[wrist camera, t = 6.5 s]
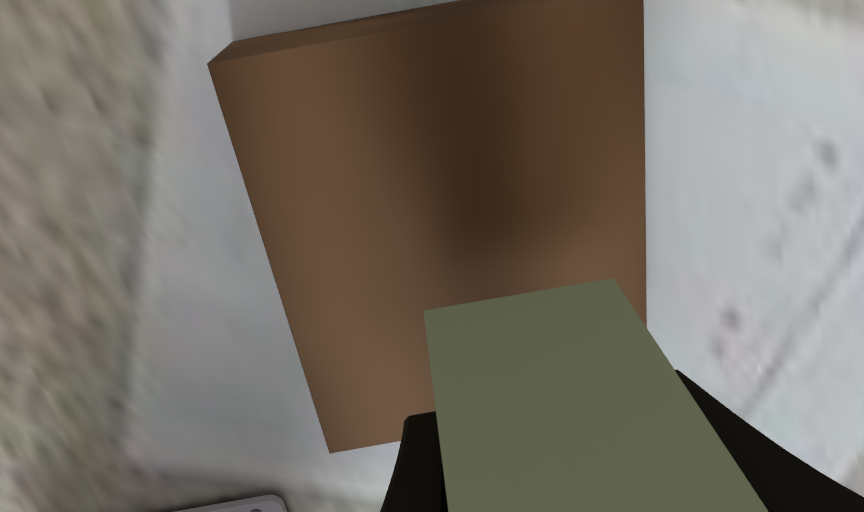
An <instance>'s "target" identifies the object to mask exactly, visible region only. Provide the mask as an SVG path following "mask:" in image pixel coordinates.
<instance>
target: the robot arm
mask: <svg viewBox="0 0 864 512" xmlns="http://www.w3.org/2000/svg"><path fill="white" fill-rule="evenodd" d="M675 372H676V373H677V375H678V376H679V378H680V379H681V381H682V382H683V384H684V385H685V387H686V388H687V390H688V391H689V393H690V394H691V396H692V397H693V399H694V400H695V402H696V403H697V405H698V406H699V408H700V409H701V411H702V412H703V414H704V415H705V417H706V418H707V420H708V421H709V423H710V424H711V426H712V427H713V429H714V430H715V432H716V433H717V435H718V436H719V438H720V439H721V441H722V442H723V444H724V445H725V447H726V448H727V450H728V451H729V453H730V454H731V456H732V457H733V459H734V460H735V462H736V463H737V465H738V466H739V468H740V469H741V471H742V472H743V474H744V475H745V477H746V478H747V480H748V482H749V483H750V485H751V486H752V488H753V489H754V491H755V492H756V494H757V495H758V497H759V498H760V500H761V501H762V503H763V504H764V506H765V507H766V509H767V510H768V512H864V497H862V496H860V495H859V494H857V493H855V492H853V491H851V490H850V489H848V488H846V487H844V486H842V485H841V484H839V483H837V482H836V481H834V480H832V479H831V478H829V477H827V476H826V475H824V474H822V473H821V472H819V471H817V470H816V469H814V468H813V467H811V466H810V465H808V464H806V463H805V462H803V461H802V460H800V459H799V458H797V457H796V456H794V455H792V454H791V453H789V452H788V451H786V450H785V449H783V448H782V447H781V446H779V445H778V444H776V443H775V442H773V441H772V440H771V439H769V438H768V437H766V436H765V435H764V434H762V433H761V432H759V431H758V430H757V429H755V428H754V427H752V426H751V425H750V424H748V423H747V422H745V421H744V420H743V419H741V418H740V417H739V416H737V415H736V414H735V413H733V412H732V411H731V410H729V409H728V408H727V407H725V406H724V405H723V404H721V403H720V402H719V401H718V400H716V399H715V398H714V397H712V396H711V395H710V394H708V393H707V392H706V391H705V390H703V389H702V388H701V387H699V386H698V385H697V384H696V383H694V382H693V381H692V380H690V379H689V378H688V377H687V376H685V375H684V374H683V373H681V372H680V371H679V370H675ZM254 509H259V510H254ZM174 512H287V510H286V507H285V505H284V502H283V501H282V499H281V498H279V497H278V496H275V495H264V496H258V497H253V498H247V499H242V500H236V501H230V502H225V503H219V504H214V505H208V506H202V507H197V508H191V509H186V510H180V511H174ZM380 512H448V504H447V496H446V488H445V480H444V472H443V464H442V456H441V448H440V440H439V432H438V424H437V416H436V411H433V412H427V413H421V414H416V415H410V416H408V417H407V418H406V419H405V421H404V426H403V433H402V439H401V444H400V448H399V453H398V457H397V460H396V464H395V468H394V471H393V475H392V478H391V481H390V484H389V487H388V490H387V493H386V497H385V500H384V503H383V505H382V508H381V511H380Z"/></svg>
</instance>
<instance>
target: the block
mask: <svg viewBox="0 0 864 512" xmlns="http://www.w3.org/2000/svg"><path fill="white" fill-rule="evenodd" d="M423 313H424V321H425V329H426V337H427V344H428V352H429V360H430V368H431V376H432V384H433V392H434V400H435V408H436V416H437V424H438V432H439V440H440V448H441V456H442V464H443V472H444V480H445V488H446V496H447V504H448V512H768V510H767V509H766V507H765V506H764V504H763V503H762V501H761V500H760V498H759V497H758V495H757V494H756V492H755V491H754V489H753V488H752V486H751V485H750V483H749V482H748V480H747V478H746V477H745V475H744V474H743V472H742V471H741V469H740V468H739V466H738V465H737V463H736V462H735V460H734V459H733V457H732V456H731V454H730V453H729V451H728V450H727V448H726V447H725V445H724V444H723V442H722V441H721V439H720V438H719V436H718V435H717V433H716V432H715V430H714V429H713V427H712V426H711V424H710V423H709V421H708V420H707V418H706V417H705V415H704V414H703V412H702V411H701V409H700V408H699V406H698V405H697V403H696V402H695V400H694V399H693V397H692V396H691V394H690V393H689V391H688V390H687V388H686V387H685V385H684V384H683V382H682V381H681V379H680V378H679V376H678V375H677V373H676V372H675V370H674V369H673V367H672V366H671V364H670V363H669V361H668V360H667V358H666V356H665V355H664V353H663V352H662V350H661V349H660V347H659V346H658V344H657V343H656V341H655V340H654V338H653V337H652V335H651V334H650V332H649V331H648V329H647V328H646V326H645V325H644V323H643V322H642V320H641V319H640V317H639V316H638V314H637V313H636V311H635V310H634V308H633V307H632V305H631V304H630V302H629V301H628V299H627V298H626V296H625V295H624V293H623V292H622V290H621V289H620V287H619V286H618V284H617V283H616V281H615V280H614V278H610V279H604V280H598V281H593V282H587V283H581V284H575V285H569V286H564V287H558V288H552V289H546V290H540V291H535V292H529V293H523V294H517V295H512V296H506V297H500V298H494V299H488V300H483V301H477V302H471V303H465V304H459V305H454V306H448V307H442V308H436V309H430V310H425V311H423Z"/></svg>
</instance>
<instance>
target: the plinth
mask: <svg viewBox="0 0 864 512" xmlns="http://www.w3.org/2000/svg"><path fill="white" fill-rule="evenodd" d="M207 65H208V68H209V71H210V75H211V78H212V81H213V84H214V87H215V90H216V94H217V97H218V100H219V103H220V106H221V110H222V113H223V116H224V119H225V122H226V125H227V129H228V132H229V135H230V138H231V141H232V145H233V148H234V151H235V154H236V157H237V160H238V164H239V167H240V170H241V173H242V176H243V180H244V183H245V186H246V189H247V192H248V195H249V199H250V202H251V205H252V208H253V211H254V214H255V218H256V221H257V224H258V227H259V230H260V234H261V237H262V240H263V243H264V246H265V249H266V253H267V256H268V259H269V262H270V265H271V269H272V272H273V275H274V278H275V281H276V284H277V288H278V291H279V294H280V297H281V300H282V304H283V307H284V310H285V313H286V316H287V319H288V323H289V326H290V329H291V332H292V335H293V339H294V342H295V345H296V348H297V351H298V354H299V358H300V361H301V364H302V367H303V370H304V373H305V377H306V380H307V383H308V386H309V389H310V393H311V396H312V399H313V402H314V405H315V408H316V412H317V415H318V418H319V421H320V424H321V428H322V431H323V434H324V437H325V440H326V443H327V447H328V450H329V453H335V452H340V451H346V450H351V449H357V448H363V447H368V446H374V445H379V444H385V443H391V442H396V441H401V439H402V433H403V426H404V421H405V419H406V418H407V417H408V416H410V415H416V414H421V413H427V412H433V411H436V408H435V400H434V392H433V384H432V376H431V368H430V360H429V352H428V344H427V337H426V329H425V321H424V313H423V311H425V310H430V309H436V308H442V307H448V306H454V305H459V304H465V303H471V302H477V301H483V300H488V299H494V298H500V297H506V296H512V295H517V294H523V293H529V292H535V291H540V290H546V289H552V288H558V287H564V286H569V285H575V284H581V283H587V282H593V281H598V280H604V279H610V278H614V280H615V281H616V283H617V284H618V286H619V287H620V289H621V290H622V292H623V293H624V295H625V296H626V298H627V299H628V301H629V302H630V304H631V305H632V307H633V308H634V310H635V311H636V313H637V314H638V316H639V317H640V319H641V320H642V322H643V323H644V325H645V326H646V328H647V320H646V216H645V111H644V6H643V0H460V1H454V2H449V3H443V4H437V5H432V6H426V7H421V8H415V9H410V10H404V11H399V12H393V13H388V14H382V15H377V16H371V17H366V18H360V19H355V20H349V21H344V22H338V23H333V24H327V25H322V26H316V27H311V28H305V29H300V30H294V31H289V32H283V33H278V34H272V35H266V36H261V37H255V38H250V39H244V40H239V41H233V42H232V43H230V44H229V45H228V46H227V47H226V48H225V49H224V50H222V51H221V52H220V53H219V54H218V55H217V56H216V57H214V58H213V59H212V60H211V61H210V62H209V63H208V64H207Z"/></svg>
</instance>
